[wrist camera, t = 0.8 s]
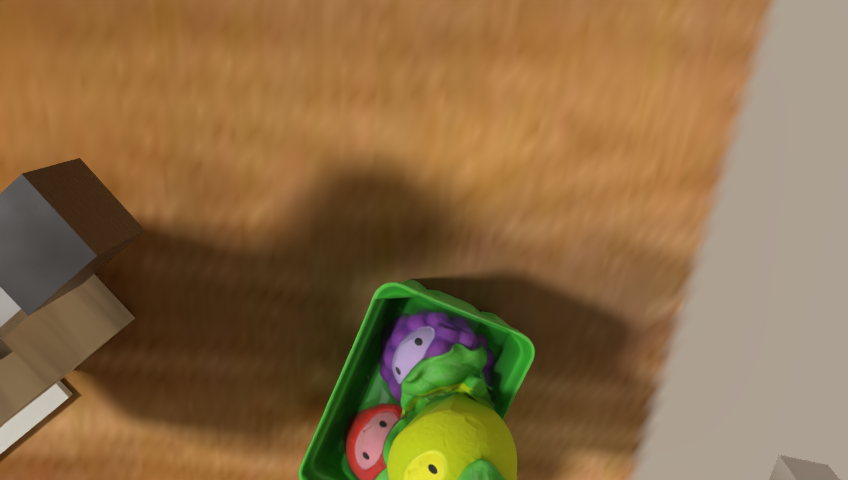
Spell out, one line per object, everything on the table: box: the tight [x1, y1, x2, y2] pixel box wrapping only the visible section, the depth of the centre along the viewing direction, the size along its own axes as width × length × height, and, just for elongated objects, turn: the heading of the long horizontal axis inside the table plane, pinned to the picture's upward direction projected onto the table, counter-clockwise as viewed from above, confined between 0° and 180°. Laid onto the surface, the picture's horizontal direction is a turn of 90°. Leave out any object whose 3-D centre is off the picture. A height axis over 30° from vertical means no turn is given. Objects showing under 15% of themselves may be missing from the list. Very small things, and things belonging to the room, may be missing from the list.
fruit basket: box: [298, 279, 535, 480], centre depth 32 cm, size 11×9×11 cm
